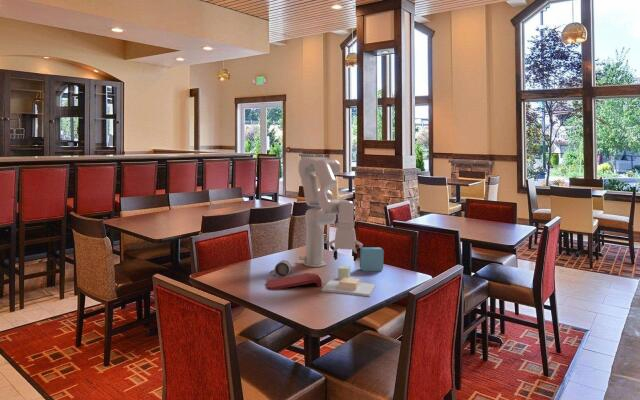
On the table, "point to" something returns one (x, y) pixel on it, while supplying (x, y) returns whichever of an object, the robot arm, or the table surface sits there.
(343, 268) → the cream block
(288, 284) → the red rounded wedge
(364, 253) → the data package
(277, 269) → the ceramic mug
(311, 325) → the table surface
